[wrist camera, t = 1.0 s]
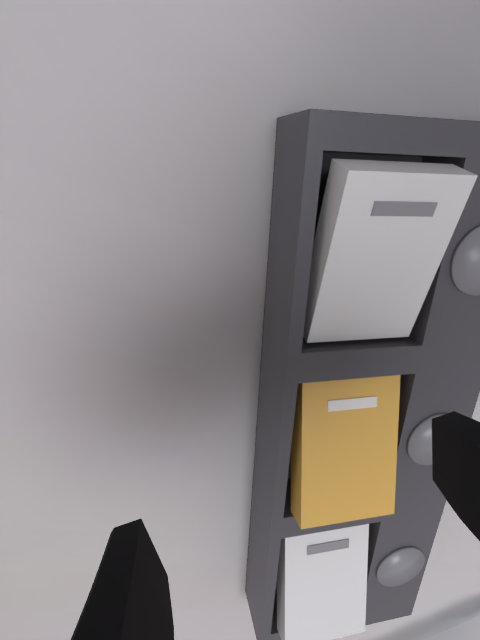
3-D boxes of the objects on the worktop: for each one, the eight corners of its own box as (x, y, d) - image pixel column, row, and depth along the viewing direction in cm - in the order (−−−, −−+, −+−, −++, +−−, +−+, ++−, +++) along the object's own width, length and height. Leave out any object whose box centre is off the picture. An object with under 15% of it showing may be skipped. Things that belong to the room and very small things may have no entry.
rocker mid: (383, 366, 20) (401, 374, 18) (378, 497, 21) (395, 514, 19) (291, 373, 19) (302, 382, 17) (290, 511, 20) (301, 530, 18)
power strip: (488, 132, 18) (565, 127, 15) (372, 601, 30) (400, 656, 27) (277, 117, 16) (312, 108, 13) (242, 629, 28) (256, 693, 25)
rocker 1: (356, 503, 23) (369, 519, 22) (352, 611, 24) (365, 632, 23) (276, 516, 22) (285, 533, 21) (276, 628, 23) (285, 651, 22)
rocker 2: (452, 163, 15) (479, 176, 14) (392, 318, 19) (409, 337, 18) (331, 158, 14) (349, 170, 13) (296, 322, 18) (307, 343, 17)
